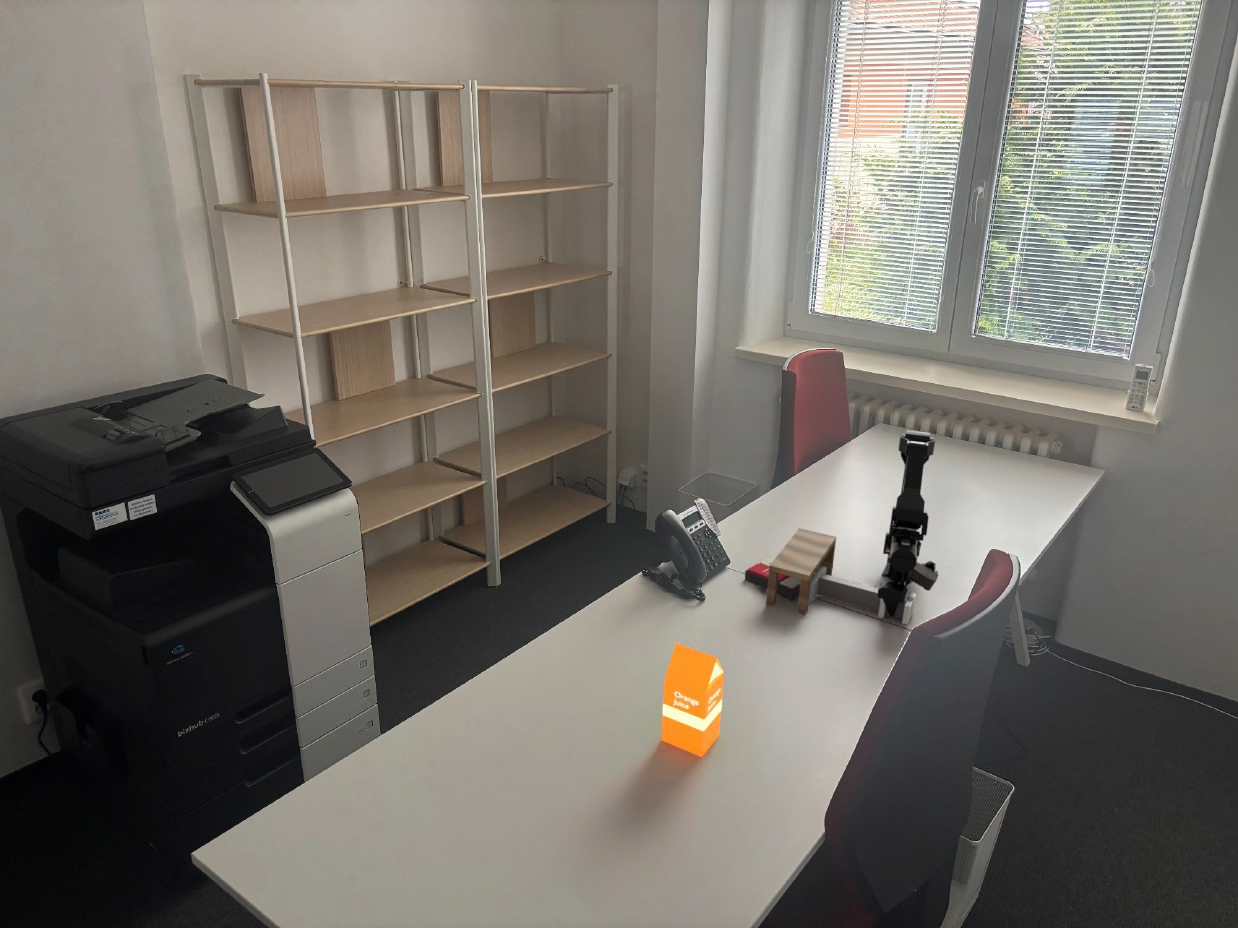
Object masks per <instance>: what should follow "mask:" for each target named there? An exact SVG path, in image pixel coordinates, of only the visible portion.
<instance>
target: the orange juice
mask: <svg viewBox="0 0 1238 928" xmlns="http://www.w3.org/2000/svg"><path fill="white" fill-rule="evenodd" d="M724 676H725V672H724V670H723V668H722V665H721V664H720V661H719V660H718V657H716V656H712V655H710V654H708V653H705V652H702V651H700V650H696V649H693V648H691V647H687V646H684V645H682V644H679V643H677V642H675V645H674V648H673V652H672V654H671V658H670V661H669V664H668V667H667V670H666V673H665V676H664V683H663V700H662V701H663V704H662V723H661V725H662V726H661V727H662V728H661V741H662V742H665V743H668V744H670V745H672V746H674V747H677V748H679V749H681V750H684V751H687V752H689V753H691V754H693V755H696V756H698V757H700V758H702V757H703V756H704V755H705V754H706V753H707V751H708V750H709V749H710V747H711V746H712V745H713V744H714V742H716V740H717V739H718V737H719V736H720V729H721V716H722V708H723V707H722V706H723V692H724V689H723V688H724V678H725V677H724Z"/></svg>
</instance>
